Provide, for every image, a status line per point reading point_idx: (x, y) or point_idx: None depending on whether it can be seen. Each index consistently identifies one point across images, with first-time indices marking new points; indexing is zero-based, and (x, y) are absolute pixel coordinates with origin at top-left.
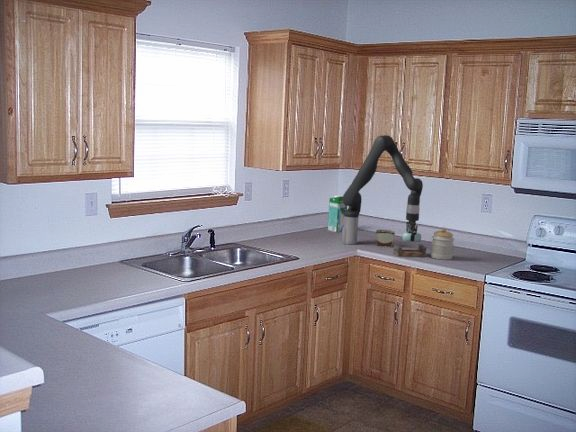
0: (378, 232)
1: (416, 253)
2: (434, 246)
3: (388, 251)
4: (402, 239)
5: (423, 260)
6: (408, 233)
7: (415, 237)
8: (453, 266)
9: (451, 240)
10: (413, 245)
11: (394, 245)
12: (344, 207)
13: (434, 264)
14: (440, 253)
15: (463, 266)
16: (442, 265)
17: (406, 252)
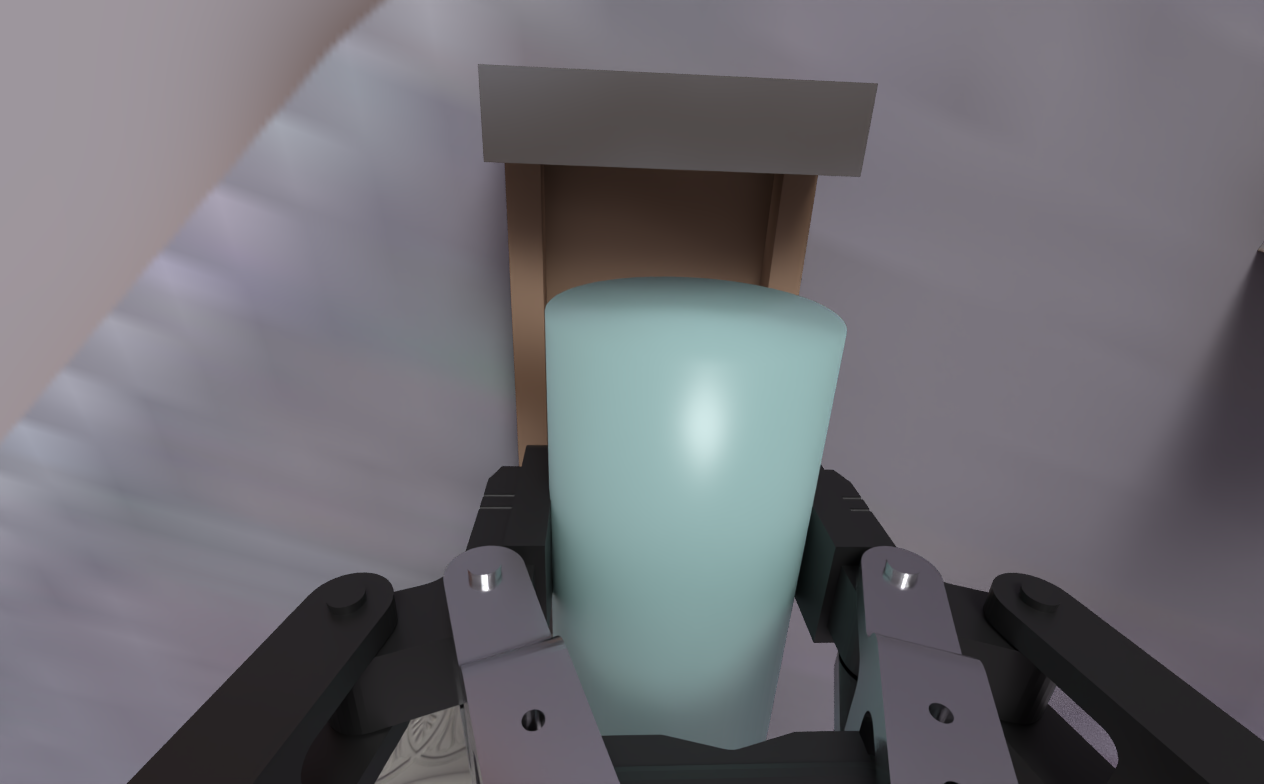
0: None
1: (520, 434)
2: (422, 751)
3: (963, 42)
4: (760, 289)
5: (287, 432)
6: (671, 531)
7: (552, 620)
8: (36, 667)
9: None
10: (1235, 602)
11: (830, 83)
12: None
13: (52, 495)
14: None
15: (91, 753)
16: (34, 572)
17: (509, 262)
